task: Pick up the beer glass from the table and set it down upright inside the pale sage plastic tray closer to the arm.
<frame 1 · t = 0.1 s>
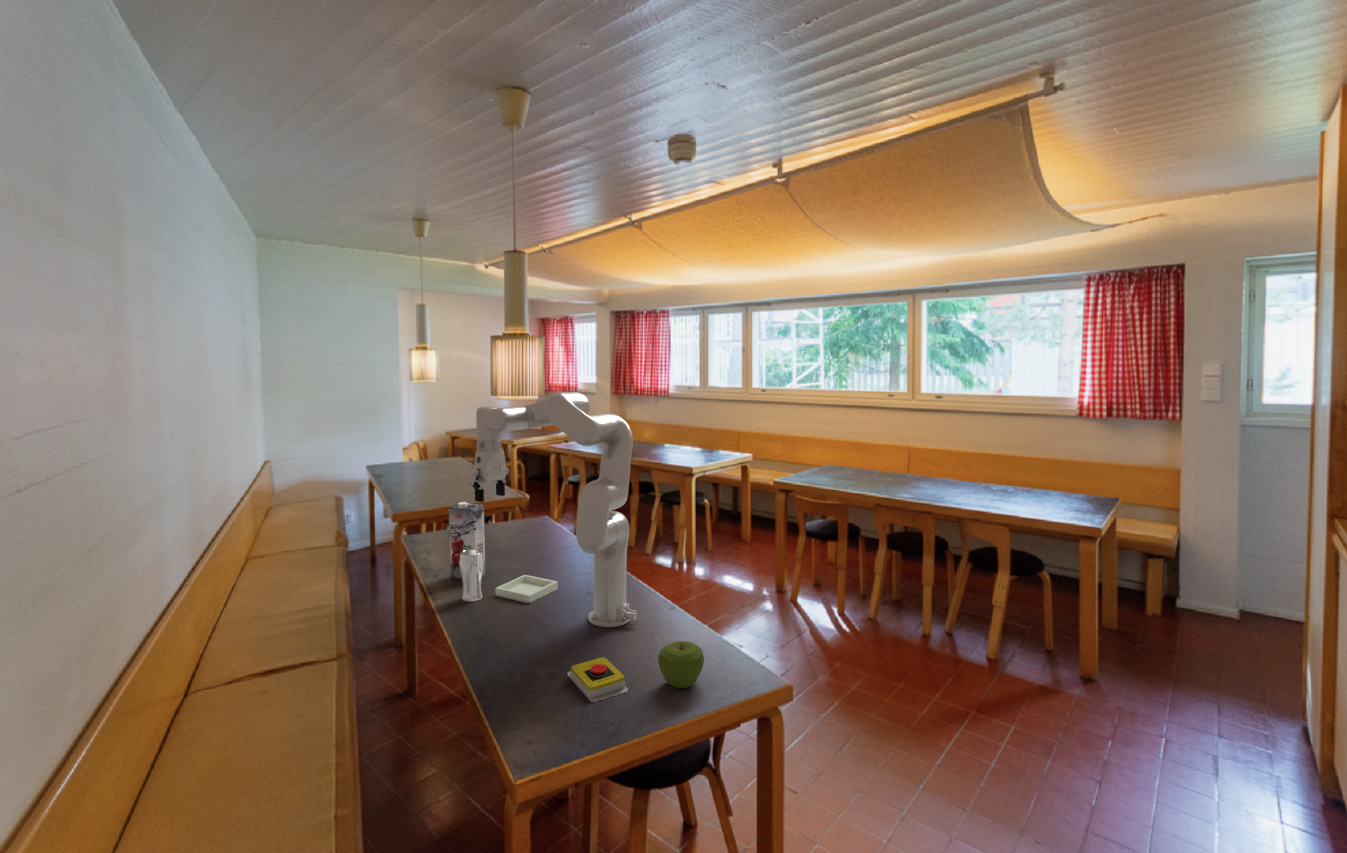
hand: (490, 498, 188), 31 cm above the table, tool pointing down, fingers open, 9 cm apart
apple: (680, 685, 136), on the table
emergency button: (596, 684, 137), on the table
sage tray: (527, 592, 191), on the table
juice carton: (468, 578, 204), on the table
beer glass: (472, 598, 186), on the table
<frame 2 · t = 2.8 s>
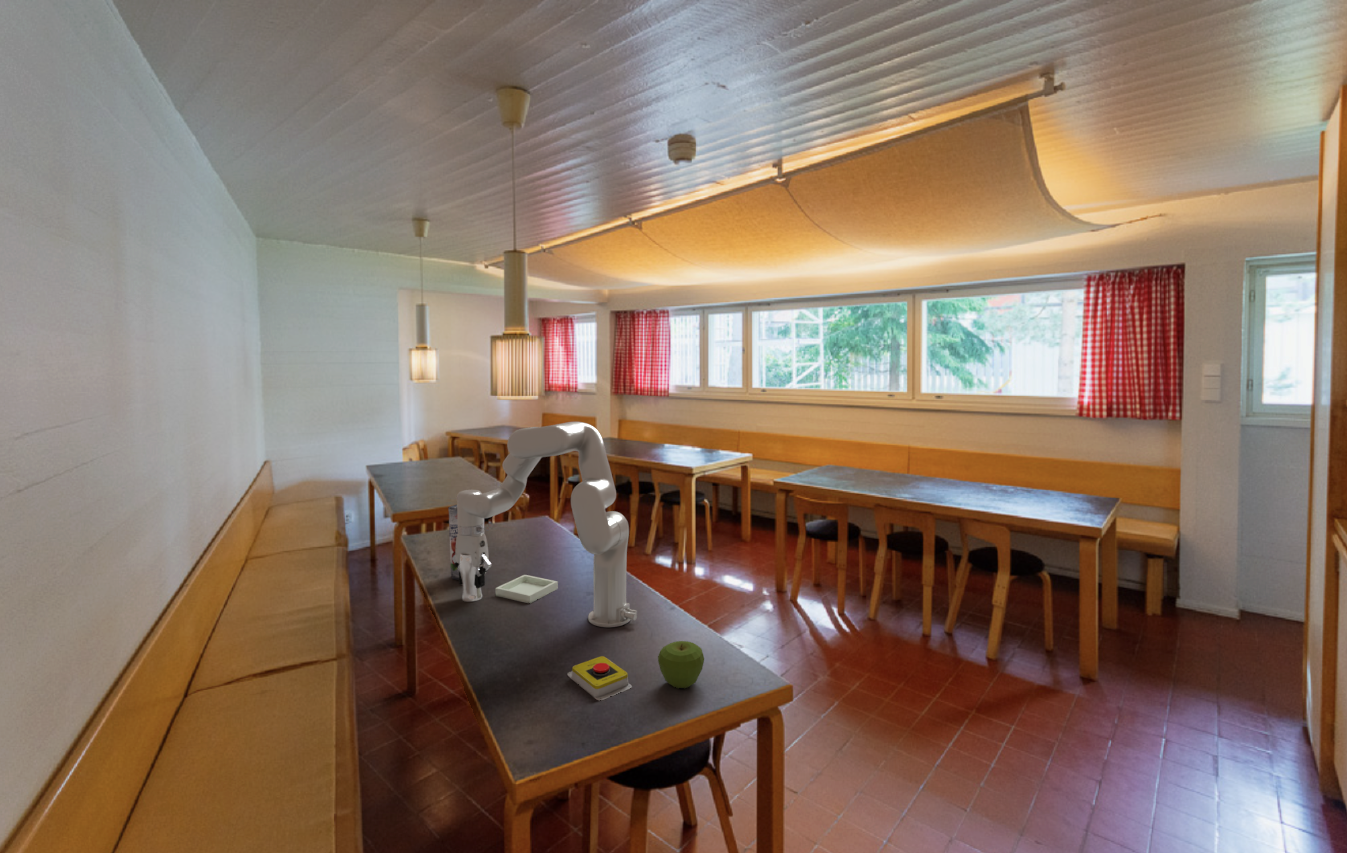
hand: (471, 584, 186), 4 cm above the table, tool pointing down, fingers closed on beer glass, 6 cm apart
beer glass: (472, 598, 186), on the table, touching gripper
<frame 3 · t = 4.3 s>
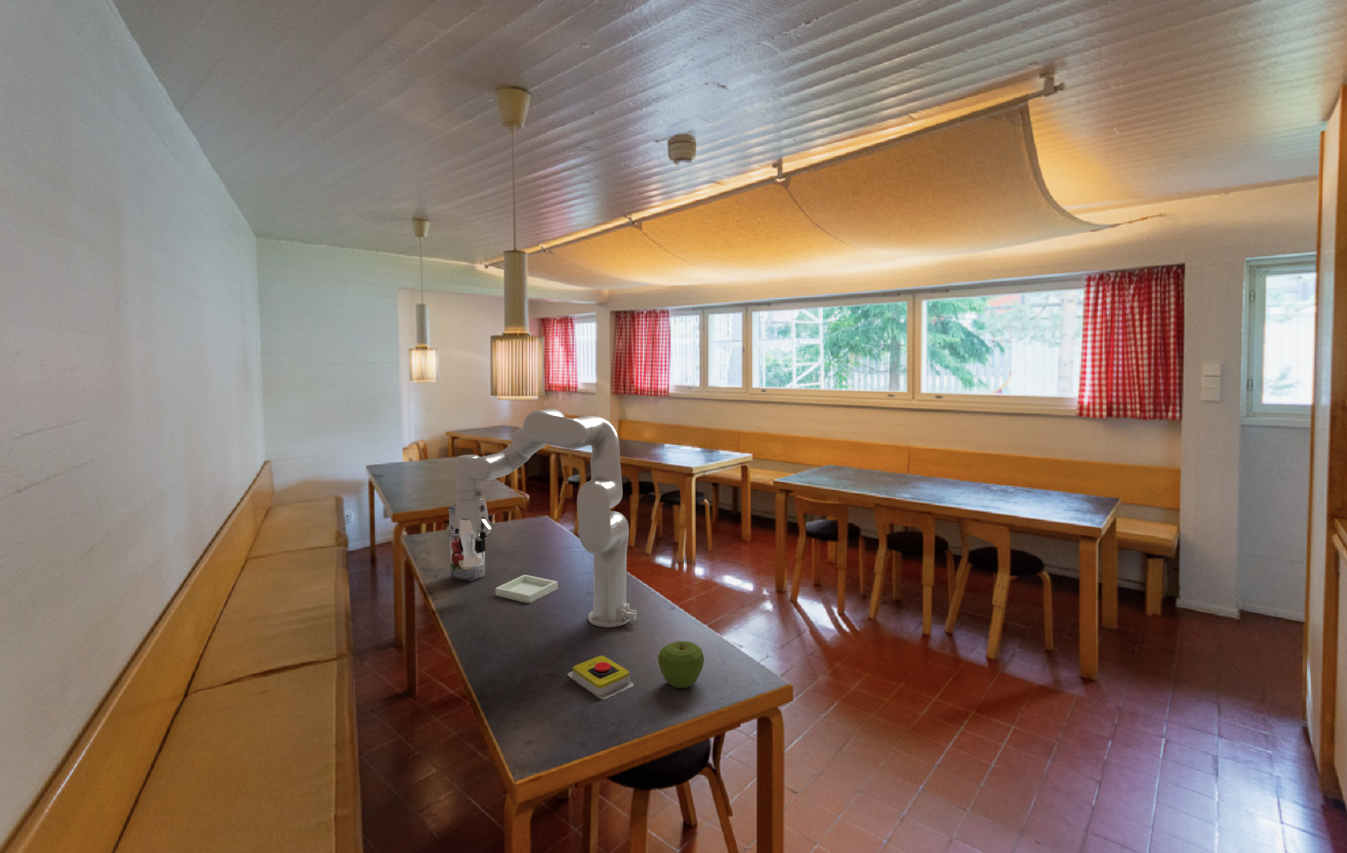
hand: (472, 550, 184), 16 cm above the table, tool pointing down, fingers closed on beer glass, 6 cm apart
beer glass: (473, 565, 185), point 11 cm above the table, touching gripper
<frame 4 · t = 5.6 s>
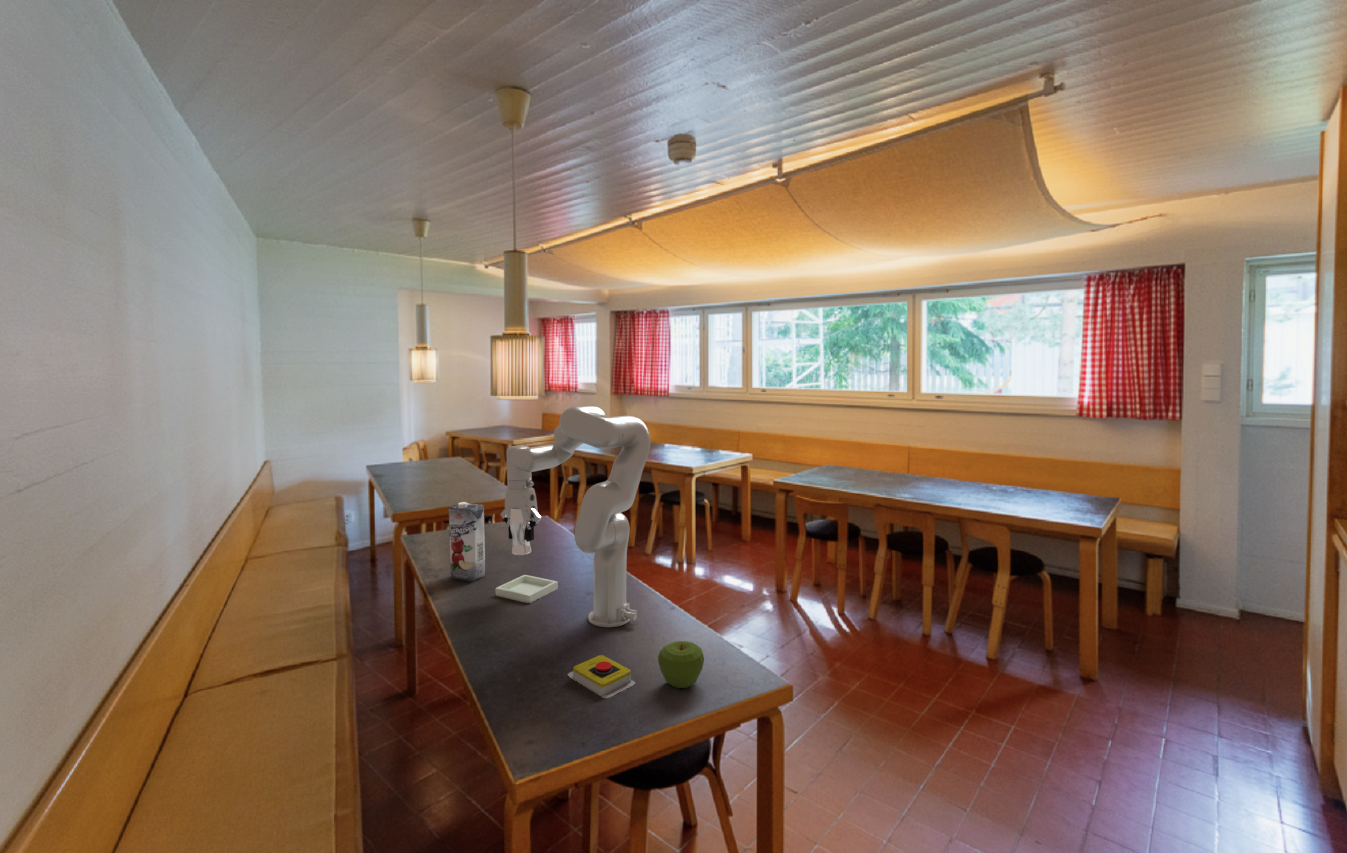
hand: (521, 538, 189), 18 cm above the table, tool pointing down, fingers closed on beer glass, 6 cm apart
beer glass: (521, 553, 189), point 13 cm above the table, touching gripper
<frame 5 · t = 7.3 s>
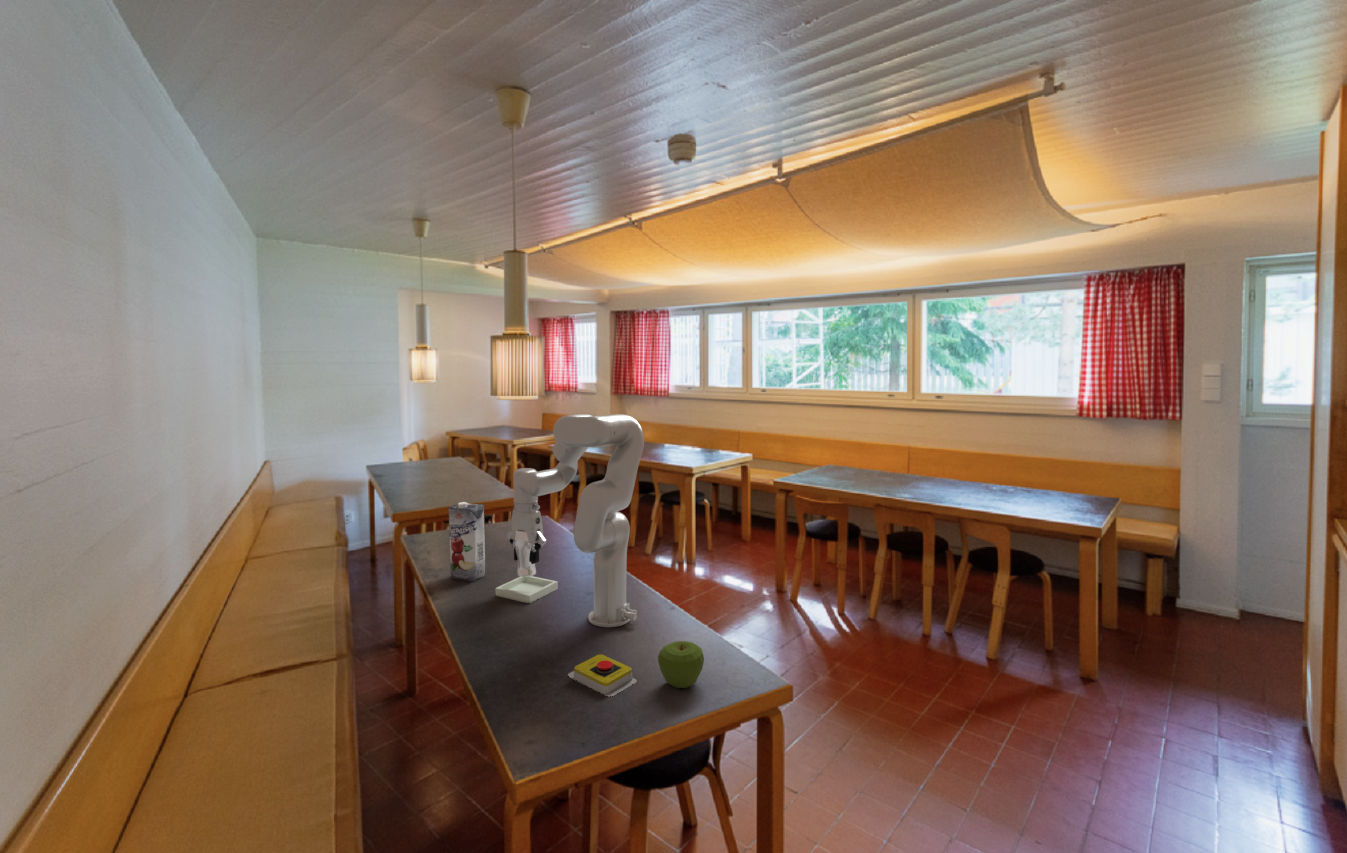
hand: (526, 560, 190), 11 cm above the table, tool pointing down, fingers closed on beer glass, 6 cm apart
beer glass: (526, 574, 191), point 6 cm above the table, touching gripper
when the fingers open (6 cm above the table, at t = 8.6 s): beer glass drops 1 cm, resting on sage tray.
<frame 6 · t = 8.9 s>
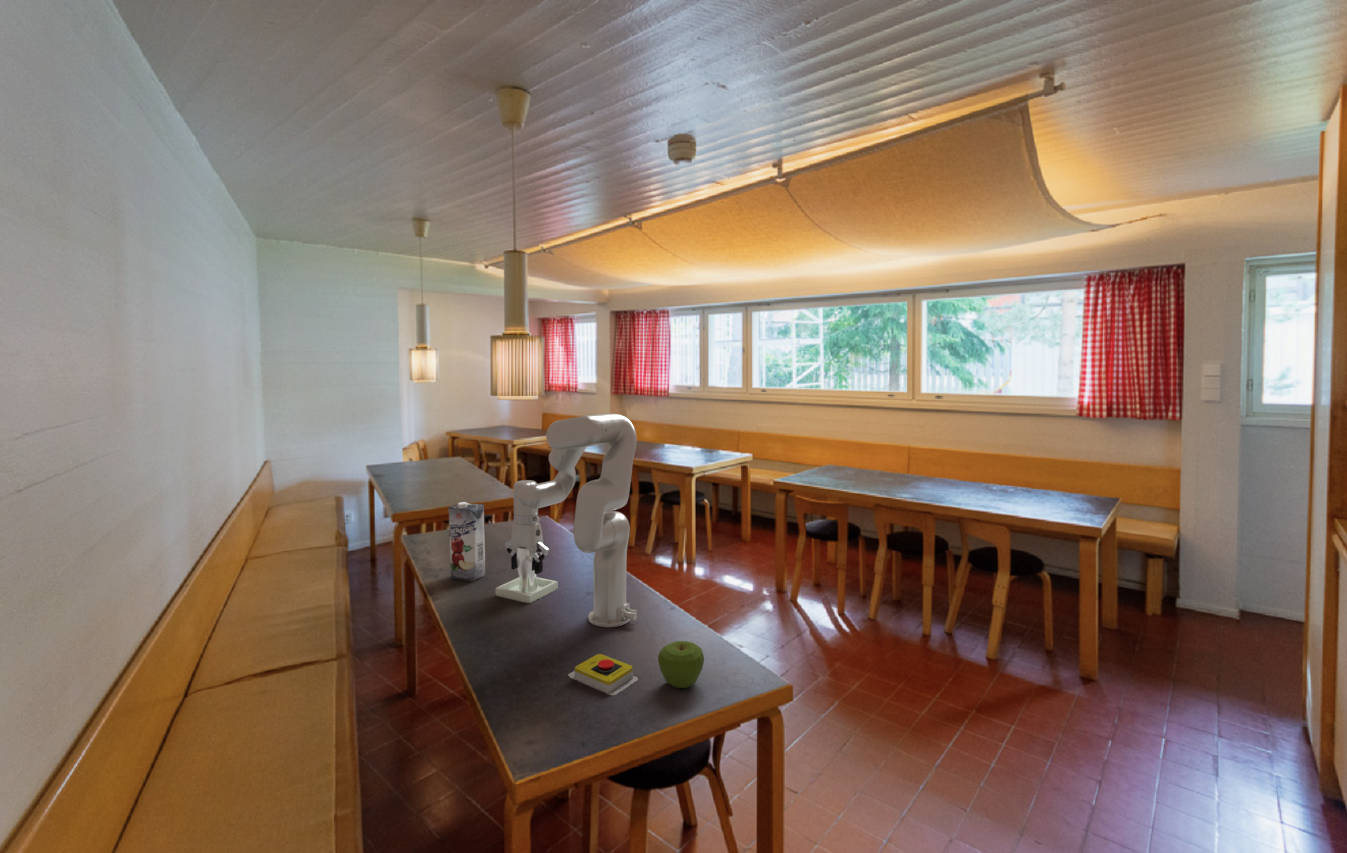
hand: (526, 570, 191), 7 cm above the table, tool pointing down, fingers open, 9 cm apart
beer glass: (528, 591, 191), resting on sage tray
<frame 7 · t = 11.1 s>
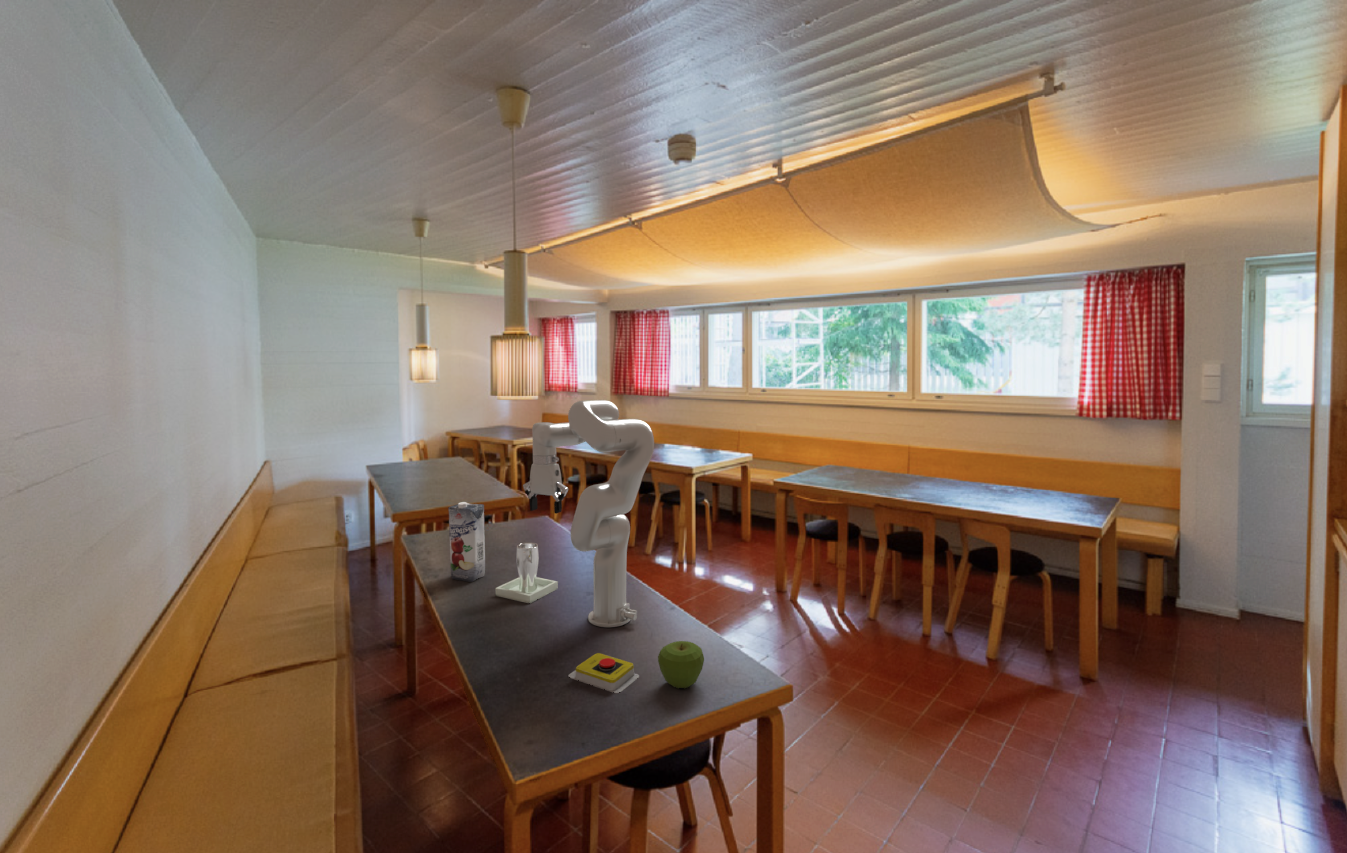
hand: (545, 511, 194), 26 cm above the table, tool pointing down, fingers open, 9 cm apart
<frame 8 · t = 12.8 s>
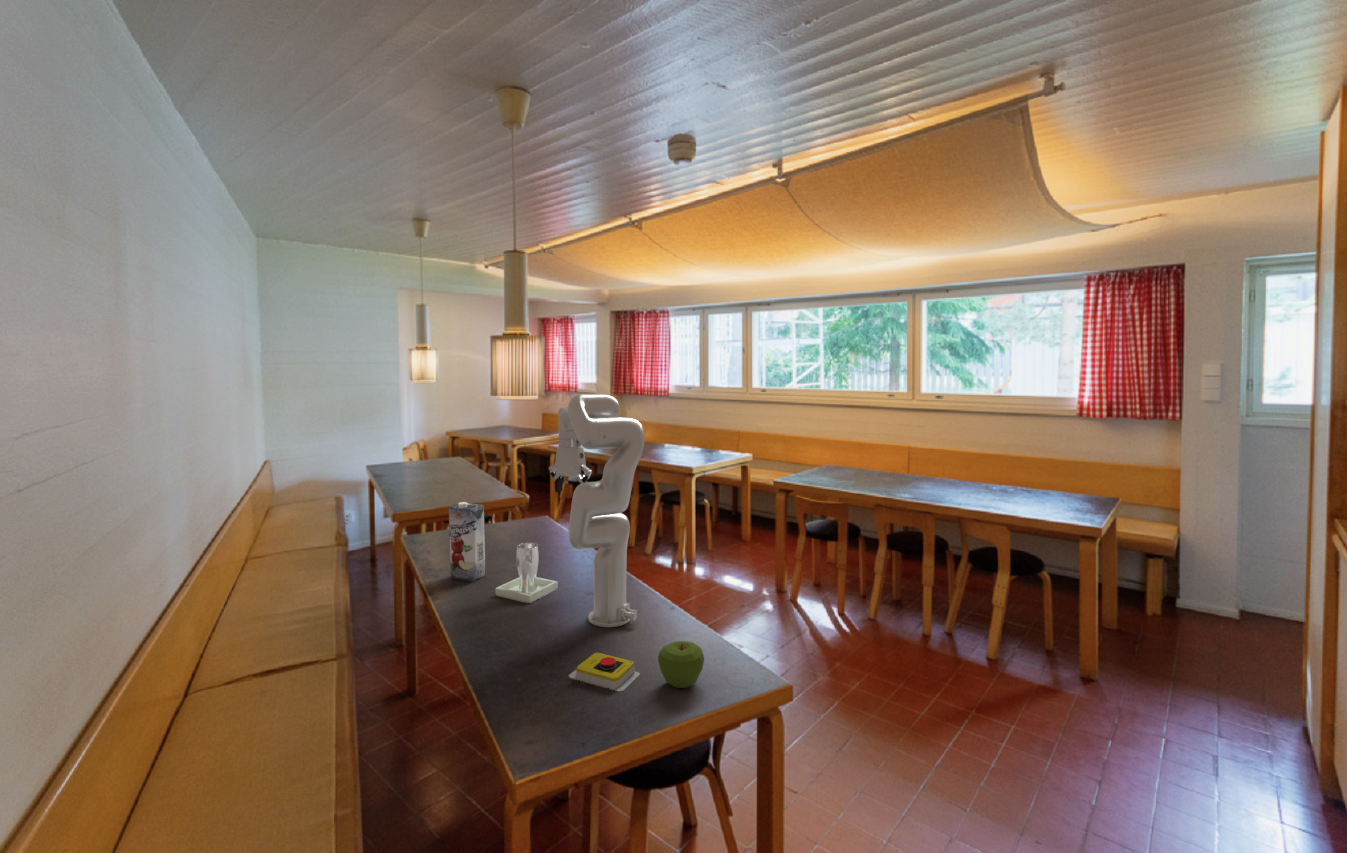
hand: (570, 492, 201), 30 cm above the table, tool pointing down, fingers open, 9 cm apart
at the end: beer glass 0.3 cm off-centre on the sage tray, point 0.4 cm above the sage tray's base; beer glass tilted 0°; the gripper is holding nothing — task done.
